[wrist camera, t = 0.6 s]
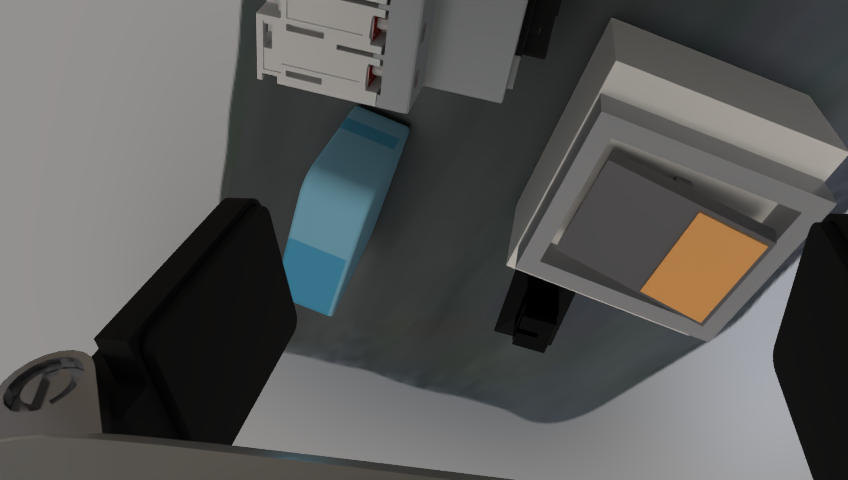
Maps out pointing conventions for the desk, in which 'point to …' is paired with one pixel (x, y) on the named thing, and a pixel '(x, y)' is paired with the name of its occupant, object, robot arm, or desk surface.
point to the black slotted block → (533, 311)
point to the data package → (341, 207)
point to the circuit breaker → (401, 46)
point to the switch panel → (677, 159)
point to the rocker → (664, 239)
